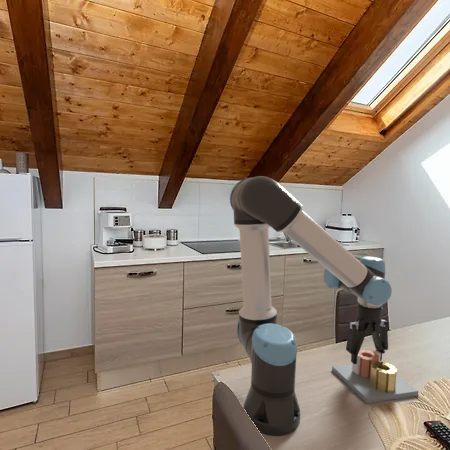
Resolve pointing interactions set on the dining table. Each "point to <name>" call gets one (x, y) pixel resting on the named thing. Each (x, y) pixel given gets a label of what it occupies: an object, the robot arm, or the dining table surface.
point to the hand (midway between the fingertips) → (365, 371)
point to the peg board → (366, 390)
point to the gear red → (366, 362)
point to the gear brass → (383, 377)
